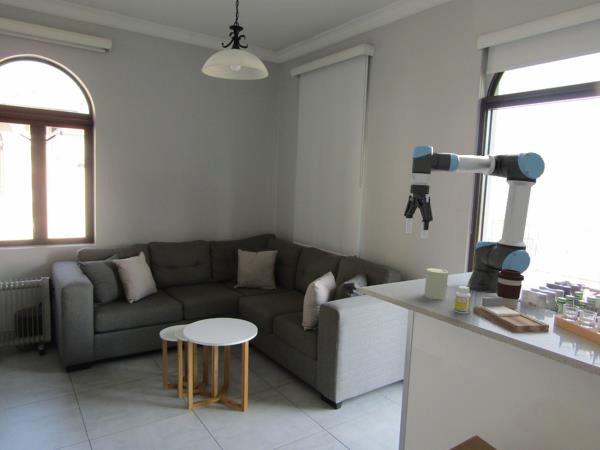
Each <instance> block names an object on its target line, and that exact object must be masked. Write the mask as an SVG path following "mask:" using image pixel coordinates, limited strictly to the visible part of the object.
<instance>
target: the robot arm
mask: <svg viewBox="0 0 600 450" xmlns="http://www.w3.org/2000/svg"><path fill="white" fill-rule="evenodd" d="M412 153H413V154H412V162H411V163H412V165H411V167H412V168H411V175H410V178H411V179H410V183H411V185H410V191H409V192H410V194H409V195H408V201H407V203H406V207H405V208H404V209H405V210H404V212H403V216H404V217H405V218H406V221H405V234H411V235H412V234H413V226H414V225H413V224H414V215H415V213H416V211H417V209H419V211H420V215H421V218H422V220H421V229H420V238H421V239H428V238H429V227H430V222H433V219H434V218H433V212H432V206H431V205H432V204H431V197H430V196H427V195H429V194H430V189H431V188H430V184H431V175H432V172H435V173H436V172H438V173H439V172H440V173H469V174H470V173H471V174H472V173H474V174H475V173H476V174H483V175H484V176H493V177H499V178H504V179H505V178H506V179H505V180H506V183H507V184H508V193H507V199H506V200H507V201H506V207H505V213H504V220H503V227H502V233H501V234H502V235H501V239H499V240H498V241H493V240H492V241H489V240H487V241H485V240H483V241H482V240H479V241H477V242H476V243H475V248H474V256H473V257H474V258H473V259H474V260H473V269H472V273H471V275H470V277H469V280H468V281H467V287H469V289H471V290H475V291H479V292H485V293H497V284H498V277H497V273H498V272H501V270H502V269H511V270H516V271H519V272H520V273H521V275H522V274H523V273H524V272H526V271H527V270H528V269H529V267H530V264H531V256H530V254H529V252H528V251H527V245H526V244H525V243H524V237H525V232H526V223H527V217H528V212H529V211H528V210H529V206H530V205H529V204H530V200H531V199H530V198H531V193H532V192H531V190H532V188H533V186H535V185H536V183H537V180H538V179H539V178H540V177H541V176H543V174H544V171H545V167H546V163H545V160H544V158H543V157H542V155H541V154H540V153H538V152H536V151H533V150H532V151H531V150H523V151H513V152H509V151H508V152H502V153H497V154H496V153H494V154H492V153H491V154H485V155H484V156H482V155H459V154H456V153H452V152H437V151H434V149H433V146H430V145H416V146H415V147H414V148H413V152H412Z"/></svg>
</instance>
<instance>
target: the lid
mask: <svg viewBox="0 0 600 450" xmlns="http://www.w3.org/2000/svg"><path fill="white" fill-rule="evenodd" d="M479 306H480V308H482V309H484V310H486V311H488V312H490V313H492V314H494V315H496V316H520V313H521V312H520V313H518V312H519V311H518V312H516V311H517V310H516V311H514V310H515V309H513V310H511V309H509V308H507V307H504V306H503V298H502V297H498V296H496V297H495V296H491V297H487V296H483V297H482V301H481V305H479Z"/></svg>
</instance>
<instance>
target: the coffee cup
mask: <svg viewBox="0 0 600 450" xmlns="http://www.w3.org/2000/svg"><path fill="white" fill-rule="evenodd" d="M497 277H498V284H497V292H496V294H497V297H502V298H503V306H507V307H509V308H511V309H513V310H516V309H517V307H518V304H519V299H520V296H521V290H522V288H523V287H522V283H523V281H525V276H524V275H522V274H521V273H520V272H519V271H516V270H511V269H502V270H501V272H498V273H497Z"/></svg>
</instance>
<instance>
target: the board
mask: <svg viewBox="0 0 600 450" xmlns="http://www.w3.org/2000/svg"><path fill="white" fill-rule="evenodd" d="M504 307H507V306H504ZM507 308H509V307H507ZM509 309H511V308H509ZM511 310H514V311H516V312H518V313H520V316H496V315H494V314H492V313H490V312H488V311H486V310H484V309H482V308H480V305H476V306H475V305H474V306H473V310H472V312H473V313H475V314H477V315H478V314H479V315H478V316H480V315H481V317H482V316H483V318H484V317H485V319H486V320H488V319H489V320H488V321H490V322H492V323H494V324H497V325H498V326H501V327H502V328H504V329H506V330H508V331H510V332H512V333H536V332H537V333H539V332H540V333H541V332H549V330H550V324H547V323H546V322H543V321H540V320H539V319H536V318H534V317H532V316H529V315H527V314H524V313H522V312H521V311H517V310H516V309H511Z"/></svg>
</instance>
